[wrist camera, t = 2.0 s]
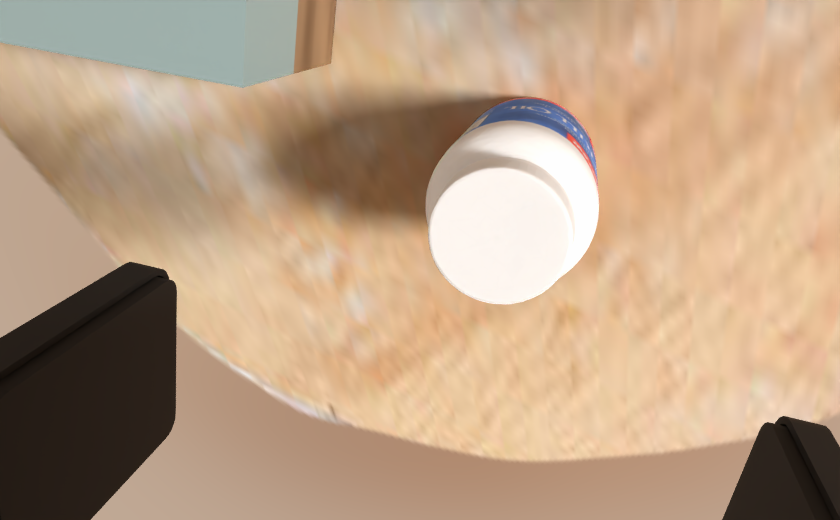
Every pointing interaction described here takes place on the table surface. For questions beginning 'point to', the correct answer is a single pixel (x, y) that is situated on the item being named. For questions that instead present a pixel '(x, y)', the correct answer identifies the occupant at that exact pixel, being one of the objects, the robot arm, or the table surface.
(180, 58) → the tower top
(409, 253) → the table surface
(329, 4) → the tower base
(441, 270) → the pill bottle
